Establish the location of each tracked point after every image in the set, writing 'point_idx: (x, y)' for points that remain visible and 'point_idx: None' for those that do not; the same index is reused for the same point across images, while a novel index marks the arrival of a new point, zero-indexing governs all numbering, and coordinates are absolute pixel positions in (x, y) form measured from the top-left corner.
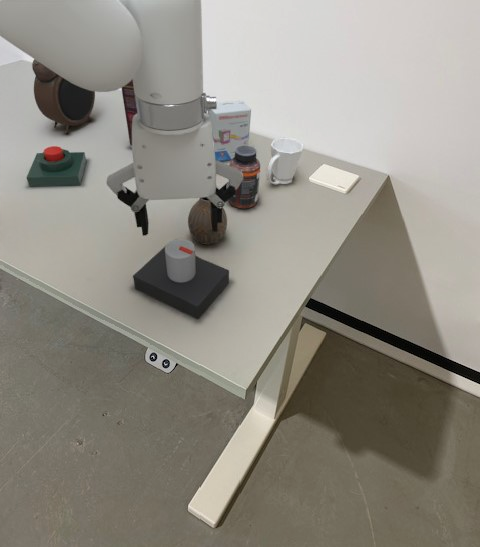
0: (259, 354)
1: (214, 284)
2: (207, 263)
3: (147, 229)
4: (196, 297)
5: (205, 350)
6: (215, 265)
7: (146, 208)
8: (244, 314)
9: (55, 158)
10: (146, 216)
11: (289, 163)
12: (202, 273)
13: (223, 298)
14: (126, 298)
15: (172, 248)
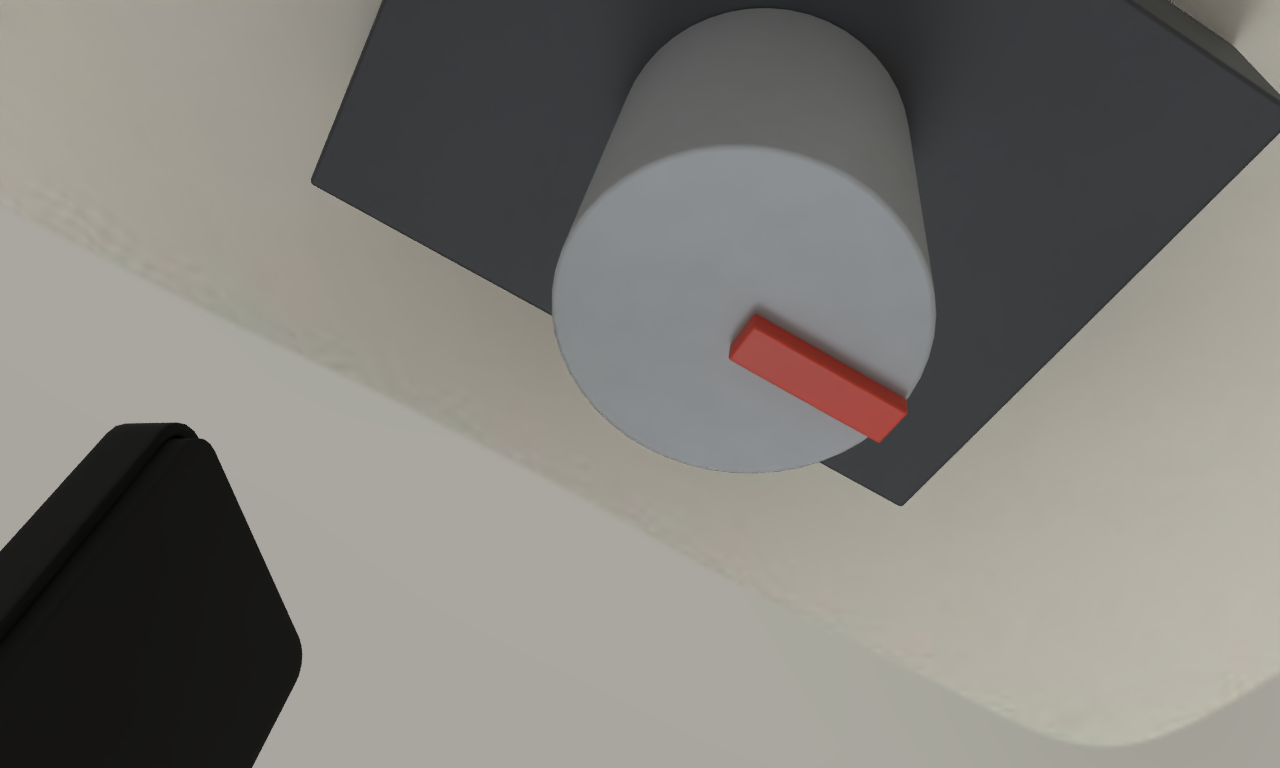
0: (1258, 649)
1: (1082, 308)
2: (1059, 7)
3: (264, 693)
4: (896, 435)
5: (924, 602)
6: (1151, 37)
7: (33, 647)
8: (1267, 385)
9: None
10: (140, 744)
11: None
12: (980, 165)
13: None
14: (339, 210)
15: (645, 327)
